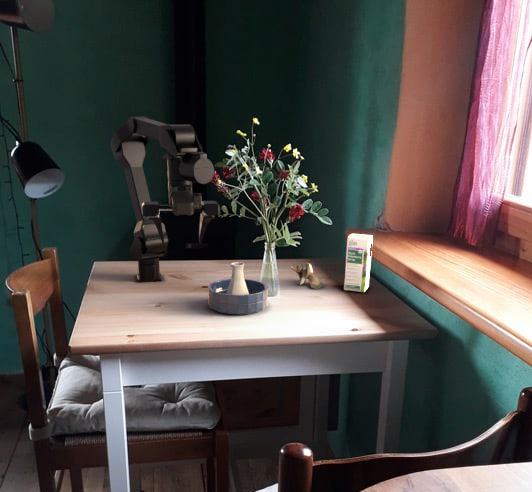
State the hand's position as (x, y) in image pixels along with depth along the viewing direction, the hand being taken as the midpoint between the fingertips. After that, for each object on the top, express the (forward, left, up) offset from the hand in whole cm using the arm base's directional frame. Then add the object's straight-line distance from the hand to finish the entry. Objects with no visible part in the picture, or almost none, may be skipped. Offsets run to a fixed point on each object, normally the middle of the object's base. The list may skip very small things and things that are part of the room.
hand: (181, 243), depth 154 cm
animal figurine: (-3, +34, -13) cm, 37 cm away
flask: (+13, +12, -13) cm, 22 cm away
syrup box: (+3, +46, -13) cm, 48 cm away
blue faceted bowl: (+13, +12, -13) cm, 22 cm away
